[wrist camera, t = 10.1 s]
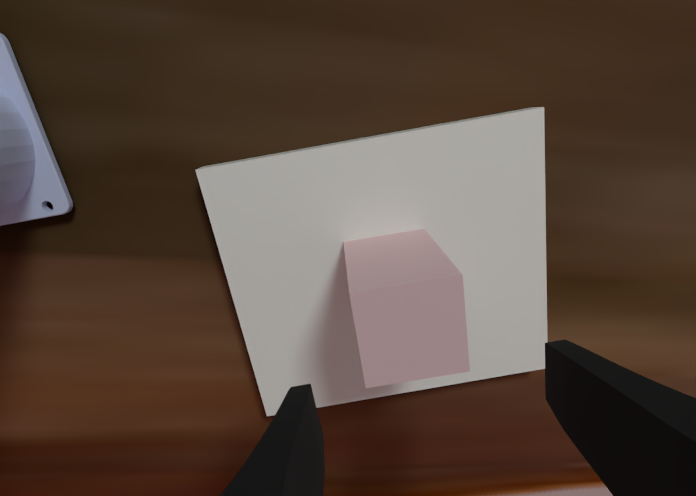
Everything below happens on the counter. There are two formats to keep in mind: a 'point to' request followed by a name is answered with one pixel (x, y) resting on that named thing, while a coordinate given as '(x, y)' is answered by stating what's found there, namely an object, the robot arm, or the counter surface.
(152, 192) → the counter surface
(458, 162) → the mat
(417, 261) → the rose block
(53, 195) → the robot arm
